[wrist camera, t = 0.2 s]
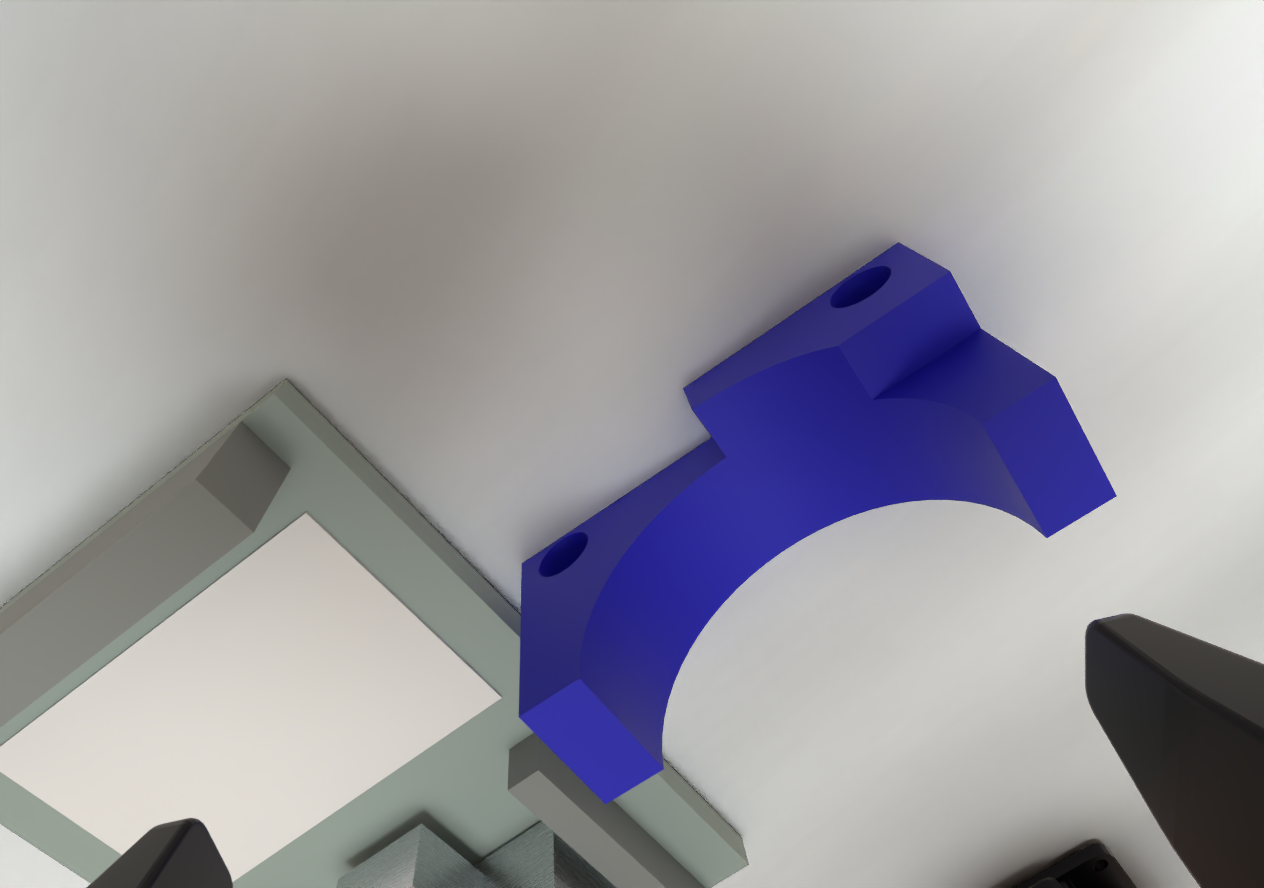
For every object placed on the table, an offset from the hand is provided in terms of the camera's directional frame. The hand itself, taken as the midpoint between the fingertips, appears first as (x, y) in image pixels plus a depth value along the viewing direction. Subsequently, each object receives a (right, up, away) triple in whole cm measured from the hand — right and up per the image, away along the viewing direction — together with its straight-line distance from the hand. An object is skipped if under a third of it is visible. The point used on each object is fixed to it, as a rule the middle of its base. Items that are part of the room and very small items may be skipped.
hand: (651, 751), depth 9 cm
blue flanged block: (+2, +3, +14) cm, 15 cm away
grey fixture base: (-8, -6, +17) cm, 19 cm away
